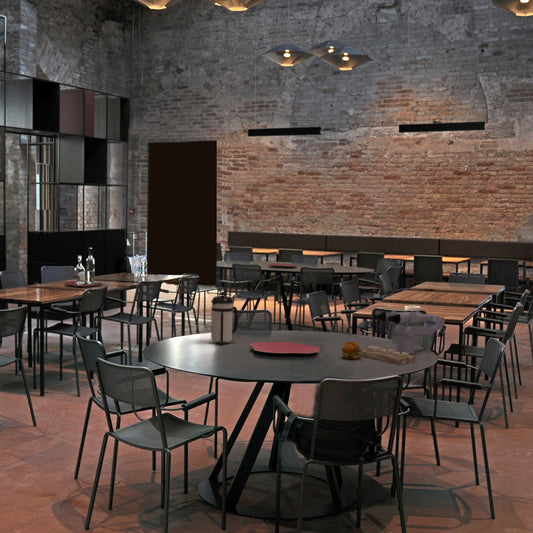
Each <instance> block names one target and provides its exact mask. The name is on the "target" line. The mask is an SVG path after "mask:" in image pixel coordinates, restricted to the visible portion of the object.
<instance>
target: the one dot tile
mask: <svg viewBox="0 0 533 533" xmlns="http://www.w3.org/2000/svg"><path fill="white" fill-rule="evenodd" d="M366 349H367V350H368V351H372V352H379V350H381V349H383V347H381V346H377V345H372V346H367V347H366Z"/></svg>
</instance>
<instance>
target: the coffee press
mask: <svg viewBox="0 0 533 533" xmlns="http://www.w3.org/2000/svg"><path fill="white" fill-rule="evenodd" d="M233 304H234V300H233V298H232V297H230V296H227V295H225V292H224V291H221V292H220V295H217V296H214V297H213V298H212V300H211V314H210V315H211V317H210V318H211V319H210V320H211V321H210V322H211V330H210V339H209V340H208V344H211V343H213V342H215V343H219V344H220V346H223V345H224V344H223V343H228V342H230V343H231V344H233V342H235V340H234V339H233V334H234V333H236V331H237V330H238V323H239V321H238V319H239V314H238V309H237V307H236V306H233ZM233 318H234V319H233ZM233 321H234V322H233ZM233 323H234V324H233Z"/></svg>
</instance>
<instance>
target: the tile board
mask: <svg viewBox="0 0 533 533" xmlns="http://www.w3.org/2000/svg"><path fill="white" fill-rule="evenodd" d="M361 350H362V351H361V356H360V357H363V358H366V359H367V358H368V359H371V360H375V361H380V362H385V363H389V364H393V365H397V366H402V365H406V363H407V364H410V363H409V362H412V363H415V362H414V361H416V362H417V356H416V355H413V354H409V357H404V358H400V357H395V356H392V355H393V354H391V355H386V354H381V353H379V352H372V351H368V350H367V348H365V349H361ZM401 364H402V365H401Z"/></svg>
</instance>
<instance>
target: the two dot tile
mask: <svg viewBox="0 0 533 533" xmlns="http://www.w3.org/2000/svg"><path fill="white" fill-rule="evenodd" d="M393 352H396V349H390V348H382V349H381V350H379V353H381V354H386V355H391V354H393Z"/></svg>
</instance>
